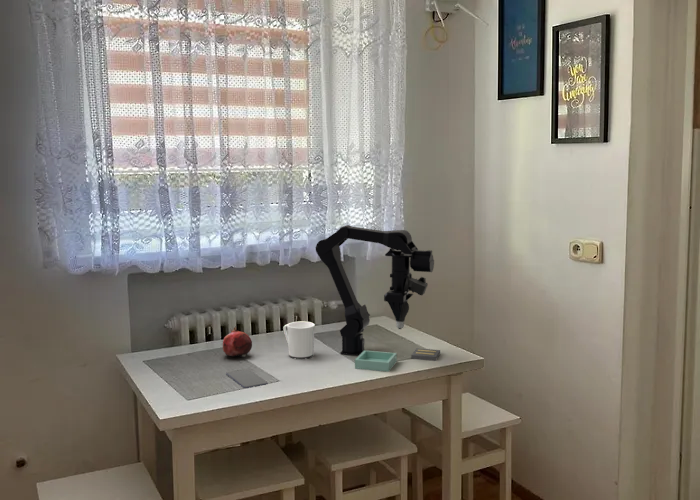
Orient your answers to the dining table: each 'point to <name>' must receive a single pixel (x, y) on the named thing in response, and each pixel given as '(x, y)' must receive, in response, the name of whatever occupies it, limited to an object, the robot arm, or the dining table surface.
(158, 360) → the dining table surface
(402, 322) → the light bulb
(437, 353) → the pad
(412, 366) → the dining table surface
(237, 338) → the fruit
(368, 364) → the teal square tray
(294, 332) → the mug
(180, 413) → the dining table surface
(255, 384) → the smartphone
